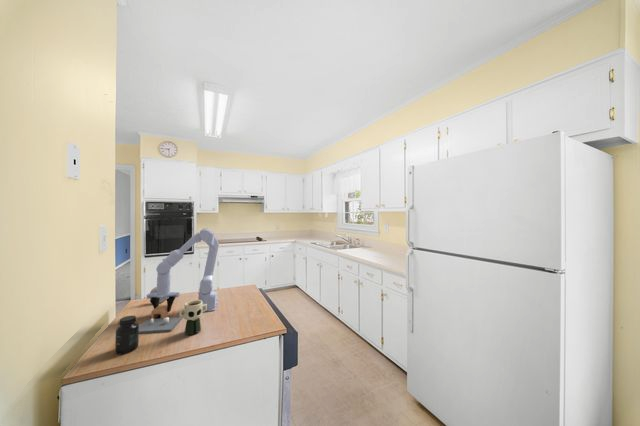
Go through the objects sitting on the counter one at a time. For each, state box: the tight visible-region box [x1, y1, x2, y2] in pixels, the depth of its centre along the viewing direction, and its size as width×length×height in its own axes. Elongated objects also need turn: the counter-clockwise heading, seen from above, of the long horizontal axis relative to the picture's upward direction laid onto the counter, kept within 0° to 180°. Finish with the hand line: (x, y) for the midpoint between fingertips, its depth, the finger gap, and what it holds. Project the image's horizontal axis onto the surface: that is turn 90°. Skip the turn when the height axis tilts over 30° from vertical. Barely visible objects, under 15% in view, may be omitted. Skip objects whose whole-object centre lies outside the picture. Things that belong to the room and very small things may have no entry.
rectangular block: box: [150, 301, 174, 319], centre depth 118 cm, size 12×5×4 cm, turn 11°
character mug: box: [178, 299, 207, 335], centre depth 102 cm, size 11×7×13 cm, turn 132°
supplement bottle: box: [114, 315, 140, 355], centre depth 88 cm, size 7×7×12 cm
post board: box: [139, 316, 183, 335], centre depth 106 cm, size 15×12×4 cm
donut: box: [149, 286, 169, 304], centre depth 133 cm, size 10×3×10 cm, turn 119°
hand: (162, 311), depth 118 cm, fingers closed on rectangular block, 5 cm apart
